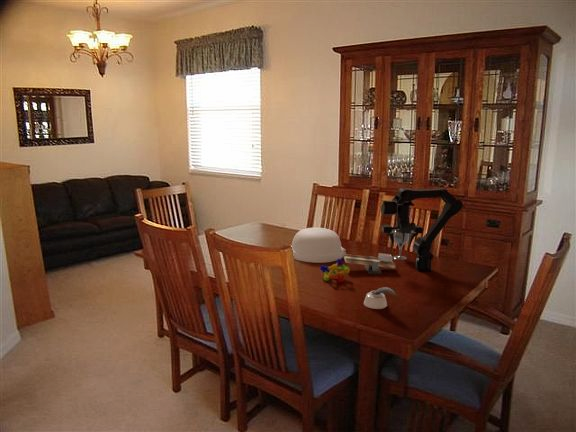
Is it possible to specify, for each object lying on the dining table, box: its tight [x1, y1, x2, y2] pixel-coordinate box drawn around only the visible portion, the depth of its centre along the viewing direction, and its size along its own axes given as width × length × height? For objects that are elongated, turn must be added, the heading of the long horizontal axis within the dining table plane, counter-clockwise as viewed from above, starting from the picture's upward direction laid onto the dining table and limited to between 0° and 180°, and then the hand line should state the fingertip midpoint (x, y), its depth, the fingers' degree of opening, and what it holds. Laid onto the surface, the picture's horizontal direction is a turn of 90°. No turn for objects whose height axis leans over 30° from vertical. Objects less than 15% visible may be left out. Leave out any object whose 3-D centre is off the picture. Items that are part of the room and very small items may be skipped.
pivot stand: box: [364, 255, 382, 275], centre depth 222 cm, size 6×11×6 cm, turn 0°
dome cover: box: [290, 227, 347, 264], centre depth 247 cm, size 32×30×14 cm
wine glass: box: [392, 231, 409, 261], centre depth 241 cm, size 8×8×15 cm
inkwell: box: [363, 286, 398, 310], centre depth 177 cm, size 9×18×10 cm, turn 27°
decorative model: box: [319, 258, 351, 284], centre depth 209 cm, size 13×9×15 cm
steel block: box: [377, 252, 394, 263], centre depth 222 cm, size 6×4×4 cm
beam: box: [343, 253, 397, 269], centre depth 222 cm, size 24×7×3 cm, turn 90°
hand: (400, 246), depth 221 cm, fingers open, 8 cm apart
